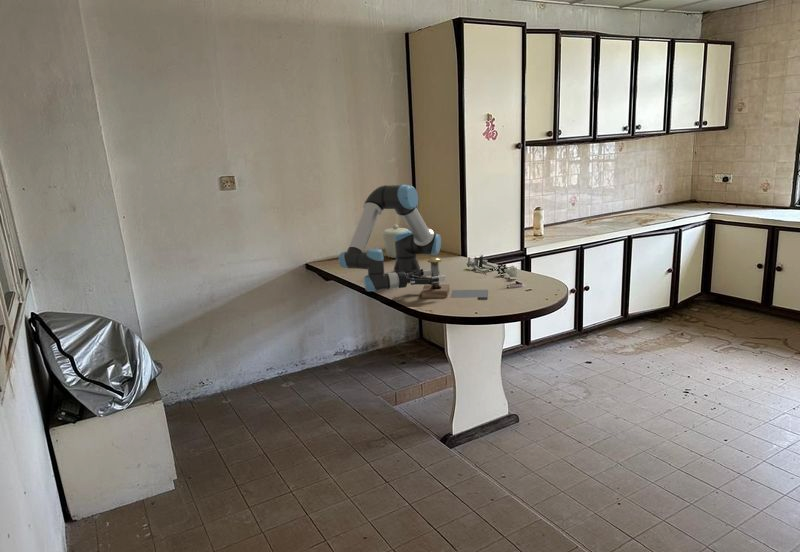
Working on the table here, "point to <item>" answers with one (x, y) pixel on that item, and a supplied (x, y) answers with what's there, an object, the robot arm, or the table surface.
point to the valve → (508, 270)
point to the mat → (470, 294)
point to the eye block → (435, 291)
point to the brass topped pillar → (434, 270)
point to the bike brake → (480, 264)
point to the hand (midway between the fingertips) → (440, 275)
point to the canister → (391, 239)
